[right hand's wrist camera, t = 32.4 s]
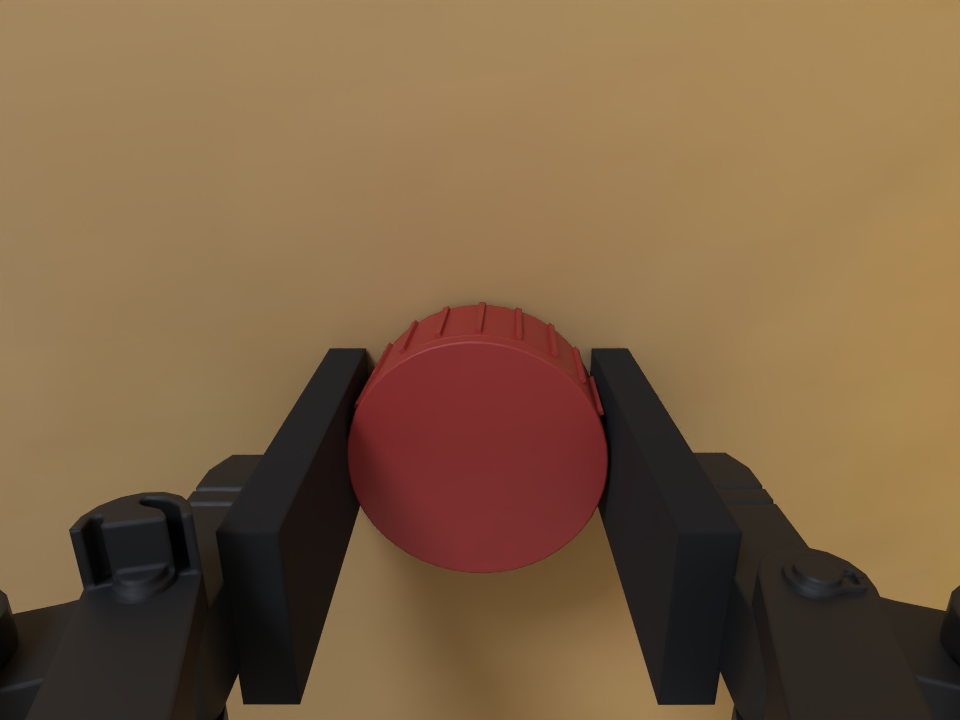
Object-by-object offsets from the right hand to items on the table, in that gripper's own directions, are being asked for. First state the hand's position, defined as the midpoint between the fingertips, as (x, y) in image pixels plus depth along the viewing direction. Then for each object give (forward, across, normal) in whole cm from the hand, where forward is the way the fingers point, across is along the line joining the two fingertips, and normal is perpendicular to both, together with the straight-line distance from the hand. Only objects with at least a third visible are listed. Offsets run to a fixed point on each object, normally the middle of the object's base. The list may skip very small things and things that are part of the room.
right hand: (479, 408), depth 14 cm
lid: (-2, 0, 0) cm, 2 cm away
